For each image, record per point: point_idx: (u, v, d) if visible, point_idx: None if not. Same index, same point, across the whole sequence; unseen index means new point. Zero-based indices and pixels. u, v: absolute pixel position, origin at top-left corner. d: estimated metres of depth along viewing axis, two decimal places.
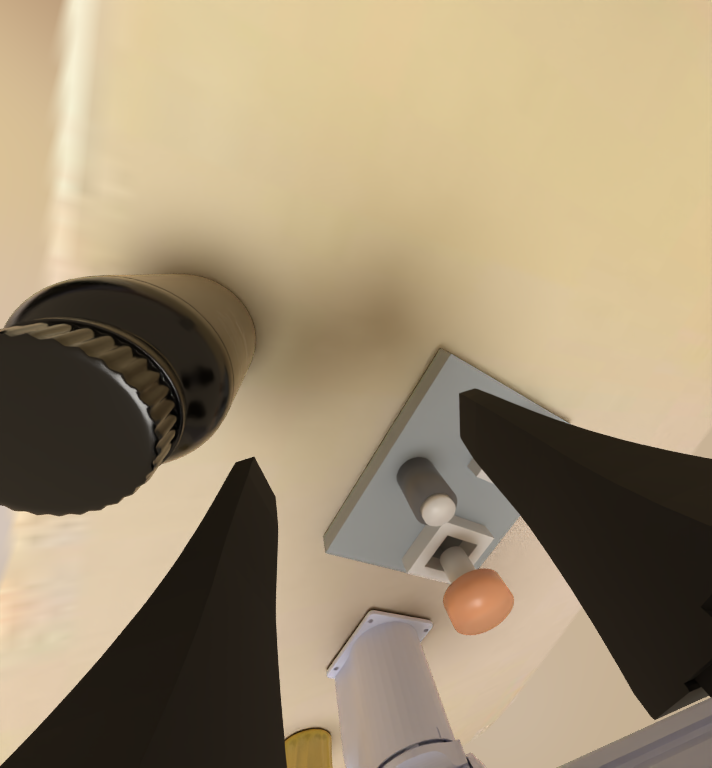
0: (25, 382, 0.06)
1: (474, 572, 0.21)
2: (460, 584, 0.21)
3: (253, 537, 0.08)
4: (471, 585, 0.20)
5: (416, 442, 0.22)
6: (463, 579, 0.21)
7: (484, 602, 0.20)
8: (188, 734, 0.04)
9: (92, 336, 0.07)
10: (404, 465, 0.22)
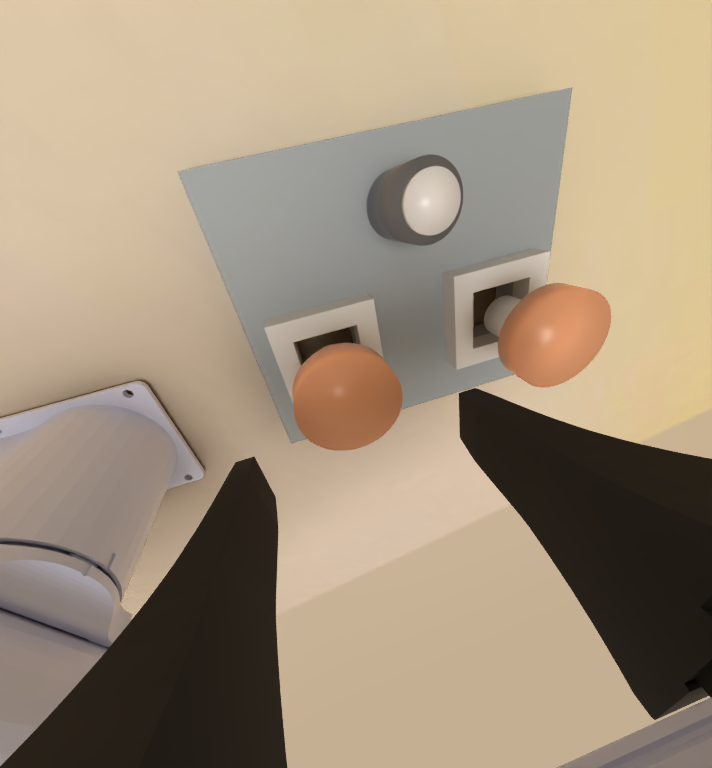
0: None
1: (378, 354, 0.13)
2: (354, 346, 0.12)
3: (253, 537, 0.08)
4: (370, 354, 0.12)
5: None
6: (361, 347, 0.12)
7: (365, 390, 0.12)
8: (188, 734, 0.04)
9: None
10: None
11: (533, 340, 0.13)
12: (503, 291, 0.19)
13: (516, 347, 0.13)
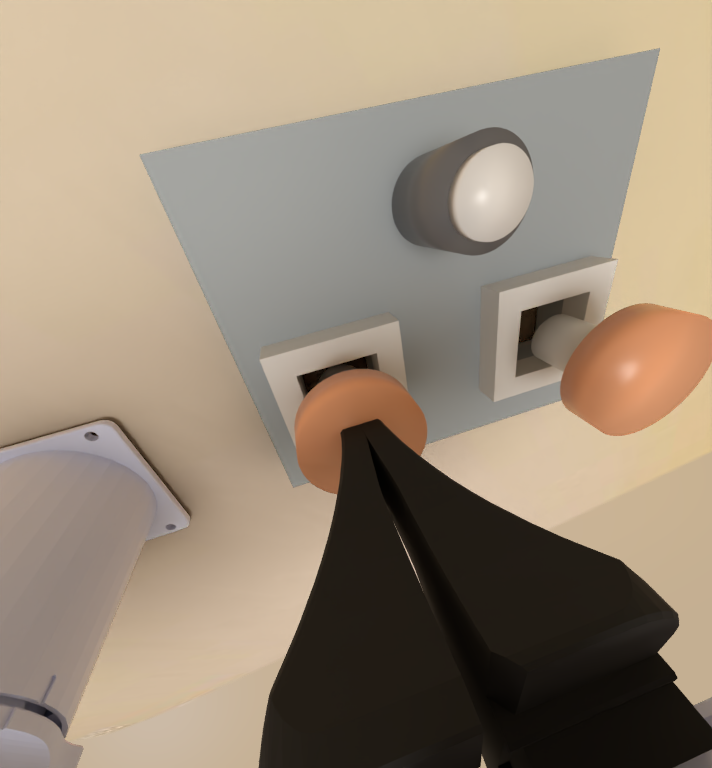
0: None
1: (397, 381, 0.11)
2: (369, 374, 0.10)
3: None
4: (389, 383, 0.10)
5: None
6: (377, 373, 0.10)
7: None
8: None
9: None
10: None
11: (617, 380, 0.10)
12: (548, 306, 0.16)
13: (593, 389, 0.10)
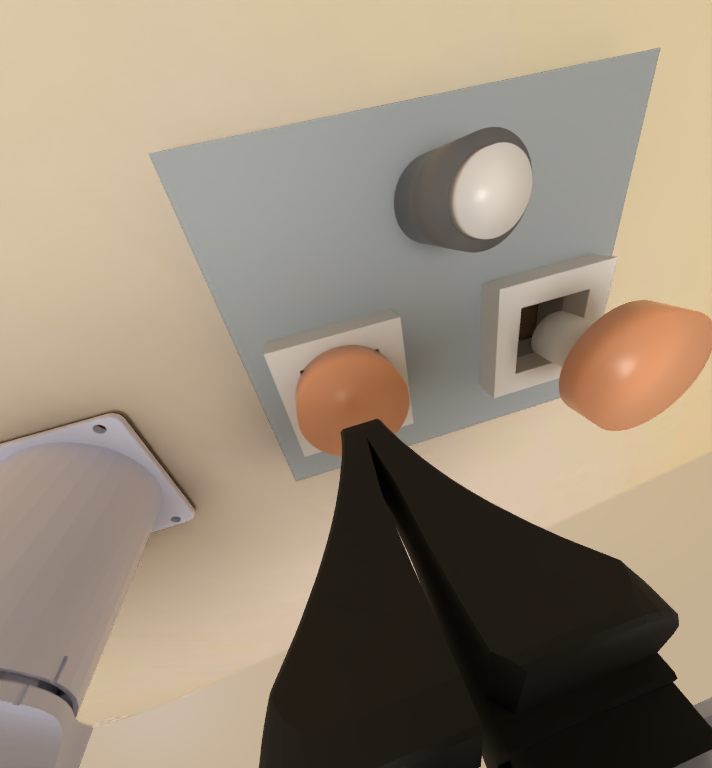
0: None
1: (384, 357, 0.13)
2: (359, 349, 0.12)
3: None
4: (376, 357, 0.12)
5: None
6: (366, 349, 0.12)
7: (371, 394, 0.12)
8: None
9: None
10: None
11: (614, 376, 0.10)
12: (548, 303, 0.16)
13: (591, 384, 0.10)
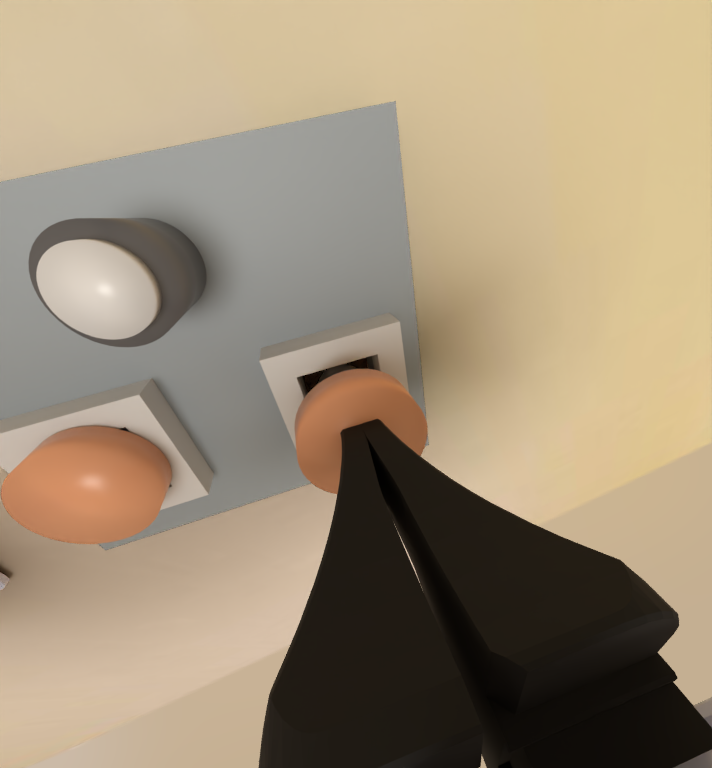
0: None
1: (131, 436, 0.11)
2: (86, 433, 0.10)
3: None
4: (102, 443, 0.10)
5: (207, 201, 0.10)
6: (100, 431, 0.11)
7: (98, 484, 0.10)
8: None
9: None
10: (145, 218, 0.09)
11: (315, 449, 0.10)
12: (369, 359, 0.15)
13: (297, 456, 0.10)
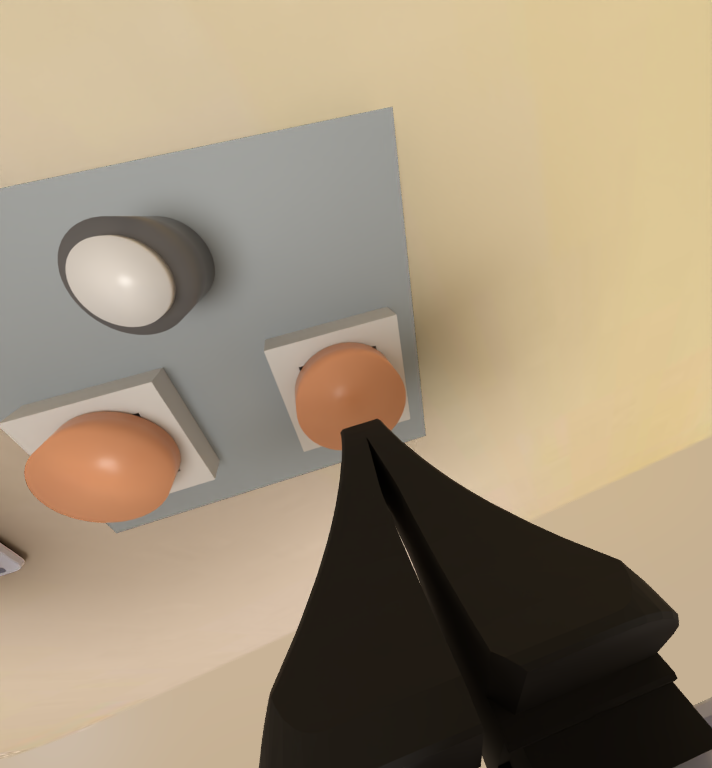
0: None
1: (144, 421, 0.12)
2: (102, 417, 0.11)
3: None
4: (117, 426, 0.11)
5: (216, 200, 0.10)
6: (115, 416, 0.11)
7: (114, 465, 0.11)
8: None
9: None
10: (159, 216, 0.10)
11: (311, 407, 0.12)
12: None
13: None
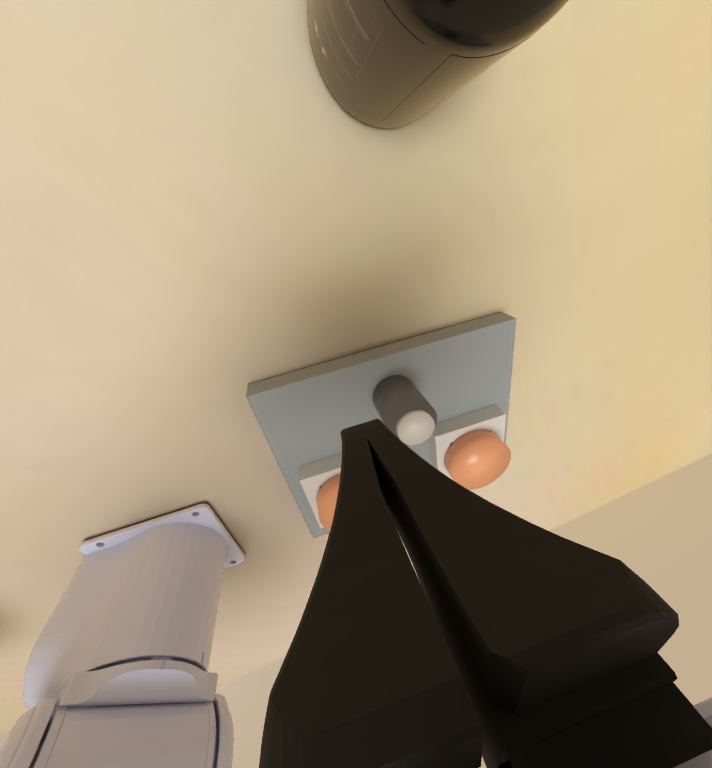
0: None
1: None
2: None
3: None
4: None
5: (424, 365, 0.20)
6: None
7: None
8: None
9: None
10: (398, 376, 0.20)
11: (461, 468, 0.21)
12: None
13: (452, 471, 0.22)
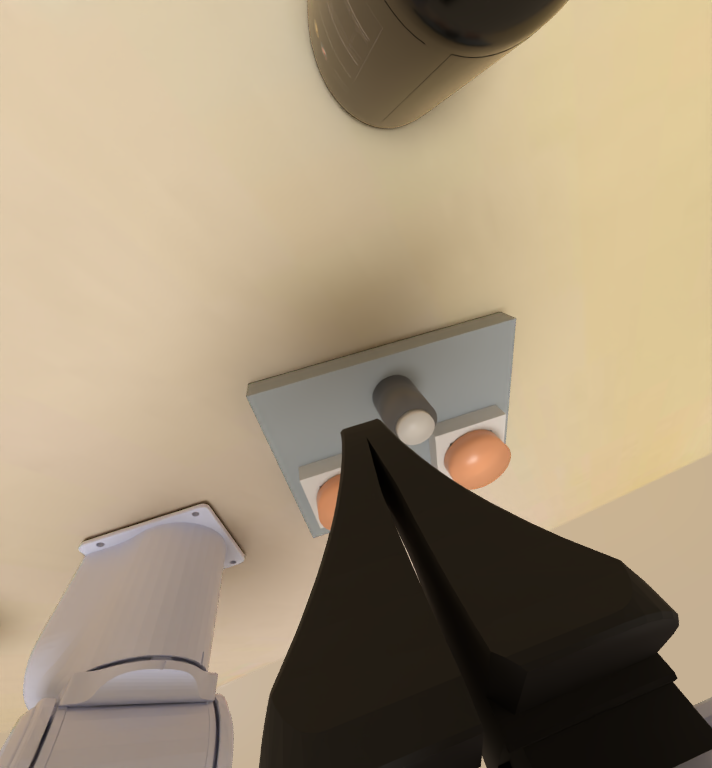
0: None
1: None
2: None
3: None
4: None
5: (424, 365, 0.20)
6: None
7: None
8: None
9: None
10: (398, 376, 0.20)
11: (461, 468, 0.21)
12: None
13: (452, 471, 0.22)
